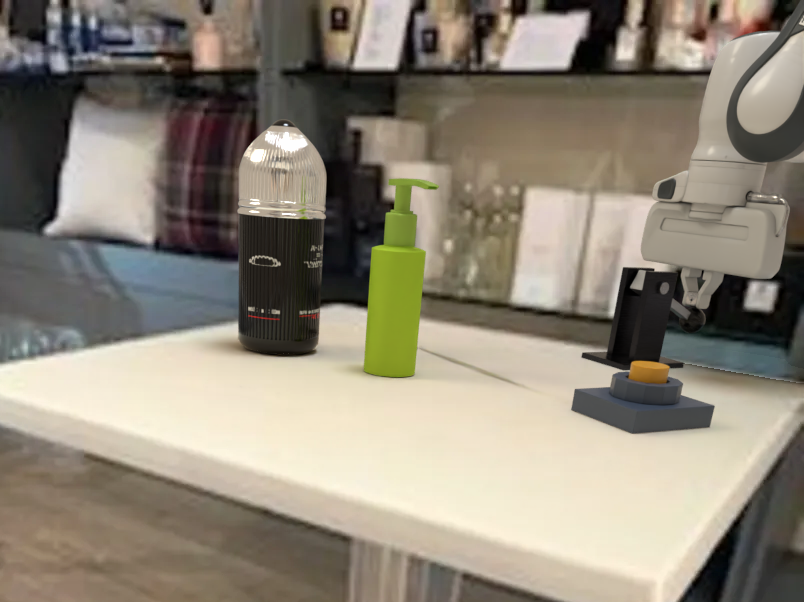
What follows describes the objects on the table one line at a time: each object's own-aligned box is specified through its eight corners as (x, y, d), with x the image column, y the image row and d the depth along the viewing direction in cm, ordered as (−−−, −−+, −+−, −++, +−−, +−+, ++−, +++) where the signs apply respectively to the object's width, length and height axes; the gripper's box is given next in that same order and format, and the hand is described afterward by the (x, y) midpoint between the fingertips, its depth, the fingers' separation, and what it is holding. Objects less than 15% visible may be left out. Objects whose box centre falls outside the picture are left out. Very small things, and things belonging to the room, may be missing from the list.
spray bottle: (331, 347, 111) (343, 125, 100) (301, 360, 102) (310, 118, 92) (257, 338, 114) (261, 120, 103) (222, 349, 105) (221, 113, 94)
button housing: (645, 405, 93) (653, 367, 91) (709, 427, 86) (719, 387, 84) (570, 410, 89) (577, 370, 87) (632, 434, 81) (641, 391, 80)
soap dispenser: (399, 381, 96) (417, 179, 87) (353, 369, 100) (364, 175, 91) (432, 375, 100) (451, 181, 91) (385, 364, 104) (400, 177, 95)
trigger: (683, 335, 116) (696, 312, 116) (701, 339, 114) (714, 316, 113) (625, 290, 109) (638, 265, 108) (643, 294, 106) (656, 269, 106)
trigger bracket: (638, 359, 118) (657, 266, 113) (682, 372, 112) (704, 274, 106) (580, 361, 114) (597, 265, 108) (622, 374, 107) (642, 273, 102)
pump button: (647, 377, 88) (651, 360, 87) (673, 386, 85) (677, 367, 84) (620, 379, 86) (623, 361, 85) (646, 387, 83) (649, 369, 83)
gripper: (811, 195, 100) (777, 320, 106) (680, 187, 116) (657, 295, 123) (773, 192, 98) (741, 321, 104) (644, 184, 114) (622, 295, 120)
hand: (694, 307), depth 113 cm, fingers closed, pressing on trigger
